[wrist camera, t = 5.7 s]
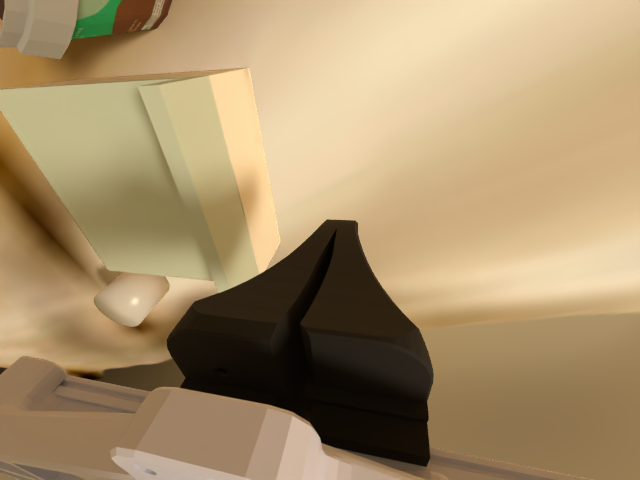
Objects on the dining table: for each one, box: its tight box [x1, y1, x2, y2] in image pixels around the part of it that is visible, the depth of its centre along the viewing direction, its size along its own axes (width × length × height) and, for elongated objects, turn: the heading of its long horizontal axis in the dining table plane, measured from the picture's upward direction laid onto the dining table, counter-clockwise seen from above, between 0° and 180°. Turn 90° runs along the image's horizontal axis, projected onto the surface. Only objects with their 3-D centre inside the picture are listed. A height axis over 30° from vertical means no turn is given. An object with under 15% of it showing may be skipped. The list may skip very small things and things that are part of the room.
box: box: [11, 68, 280, 274], centre depth 21 cm, size 14×14×5 cm
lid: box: [0, 76, 259, 293], centre depth 18 cm, size 14×14×4 cm
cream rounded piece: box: [94, 272, 169, 326], centre depth 32 cm, size 5×5×5 cm
